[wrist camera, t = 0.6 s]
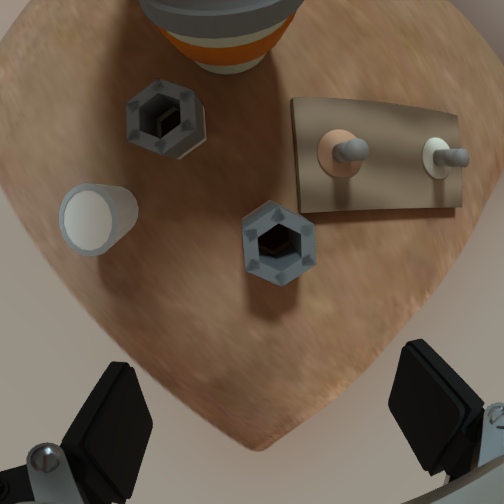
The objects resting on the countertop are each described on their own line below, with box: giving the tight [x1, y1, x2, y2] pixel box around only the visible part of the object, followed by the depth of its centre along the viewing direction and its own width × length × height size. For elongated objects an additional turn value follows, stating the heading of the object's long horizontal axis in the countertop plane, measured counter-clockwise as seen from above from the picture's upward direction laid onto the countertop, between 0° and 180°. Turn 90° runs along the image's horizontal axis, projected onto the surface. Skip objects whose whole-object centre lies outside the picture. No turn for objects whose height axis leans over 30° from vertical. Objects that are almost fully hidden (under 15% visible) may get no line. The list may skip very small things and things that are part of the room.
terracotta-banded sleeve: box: [242, 199, 316, 287], centre depth 27 cm, size 7×6×7 cm
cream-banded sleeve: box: [126, 78, 207, 160], centre depth 24 cm, size 7×6×7 cm
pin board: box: [290, 97, 469, 213], centre depth 26 cm, size 12×22×6 cm, turn 94°
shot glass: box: [59, 183, 139, 257], centre depth 26 cm, size 7×7×7 cm
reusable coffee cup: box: [139, 0, 304, 75], centre depth 18 cm, size 13×12×15 cm
